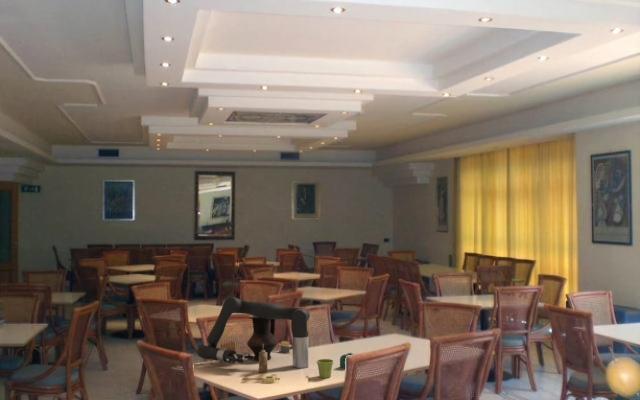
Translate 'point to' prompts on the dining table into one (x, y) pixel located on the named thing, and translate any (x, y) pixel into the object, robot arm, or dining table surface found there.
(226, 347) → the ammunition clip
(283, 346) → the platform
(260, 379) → the plywood panel
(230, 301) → the robot arm
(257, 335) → the jug
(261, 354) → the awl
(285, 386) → the dining table surface
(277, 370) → the dining table surface
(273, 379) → the stud finder
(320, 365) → the plant pot
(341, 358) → the bracket
